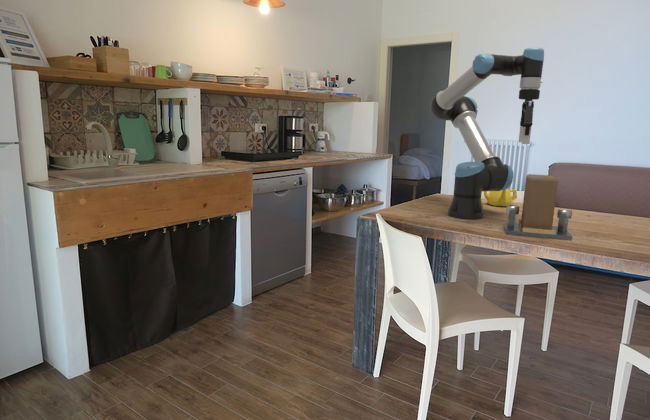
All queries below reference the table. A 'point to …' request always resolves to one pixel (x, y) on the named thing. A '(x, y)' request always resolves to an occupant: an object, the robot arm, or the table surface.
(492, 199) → the yellow rounded piece
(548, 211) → the wooden block
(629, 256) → the table surface
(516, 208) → the grey metal fixture stand
